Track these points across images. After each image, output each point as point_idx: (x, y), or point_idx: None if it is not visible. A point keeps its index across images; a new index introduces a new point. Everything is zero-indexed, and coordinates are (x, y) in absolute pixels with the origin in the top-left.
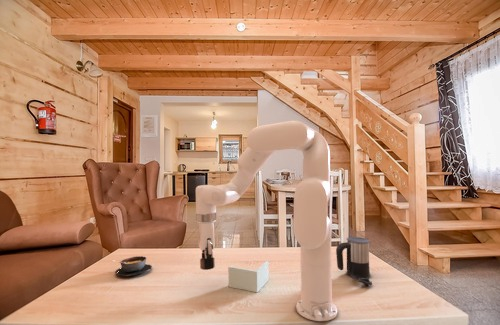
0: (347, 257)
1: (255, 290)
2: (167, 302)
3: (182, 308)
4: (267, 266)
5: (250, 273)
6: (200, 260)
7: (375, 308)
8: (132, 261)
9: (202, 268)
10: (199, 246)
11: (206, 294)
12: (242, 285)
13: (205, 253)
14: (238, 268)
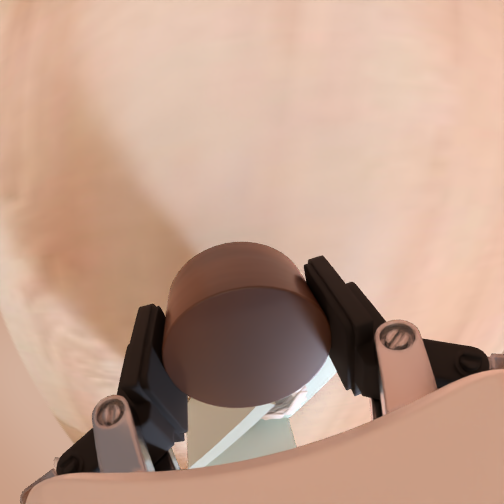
0: None
1: (189, 405)
2: (85, 39)
3: (28, 139)
4: None
5: (198, 449)
6: (212, 296)
7: None
8: None
9: (179, 275)
10: (264, 484)
11: (160, 228)
12: None
13: (98, 455)
14: (230, 434)
